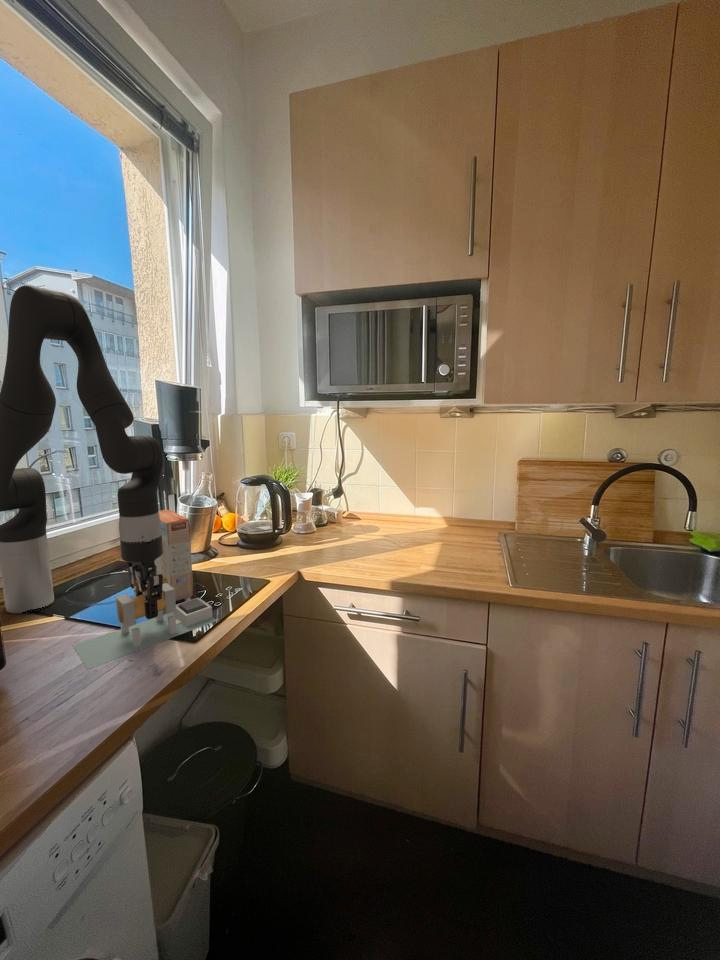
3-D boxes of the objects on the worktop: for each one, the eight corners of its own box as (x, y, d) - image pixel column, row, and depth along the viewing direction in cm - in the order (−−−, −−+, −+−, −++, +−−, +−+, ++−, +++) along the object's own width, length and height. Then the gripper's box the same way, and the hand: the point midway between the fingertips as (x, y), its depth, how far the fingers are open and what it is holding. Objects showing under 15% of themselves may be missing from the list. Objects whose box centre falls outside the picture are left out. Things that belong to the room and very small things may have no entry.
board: (72, 649, 82) (70, 629, 81) (195, 607, 100) (194, 590, 99) (87, 673, 75) (85, 651, 74) (217, 623, 92) (216, 605, 92)
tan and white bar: (117, 620, 84) (115, 597, 84) (167, 604, 92) (166, 582, 91) (124, 628, 81) (122, 604, 81) (176, 610, 89) (174, 588, 88)
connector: (180, 616, 94) (179, 604, 93) (197, 610, 97) (196, 598, 96) (188, 622, 91) (187, 610, 91) (205, 616, 94) (204, 604, 94)
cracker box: (195, 598, 105) (190, 518, 101) (170, 605, 101) (165, 522, 97) (174, 581, 115) (169, 508, 111) (151, 587, 111) (145, 511, 107)
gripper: (109, 531, 86) (116, 608, 89) (133, 547, 76) (140, 633, 79) (147, 524, 91) (153, 597, 94) (174, 538, 81) (180, 619, 84)
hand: (147, 613), depth 86 cm, fingers closed on tan and white bar, 4 cm apart
